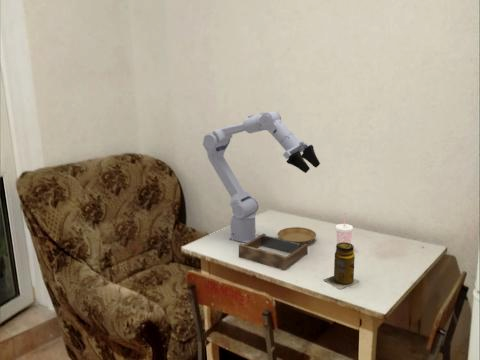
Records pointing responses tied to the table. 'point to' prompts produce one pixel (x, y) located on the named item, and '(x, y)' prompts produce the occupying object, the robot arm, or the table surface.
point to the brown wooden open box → (270, 254)
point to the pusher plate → (279, 244)
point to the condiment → (343, 266)
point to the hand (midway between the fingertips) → (313, 168)
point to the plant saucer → (297, 235)
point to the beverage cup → (344, 232)
